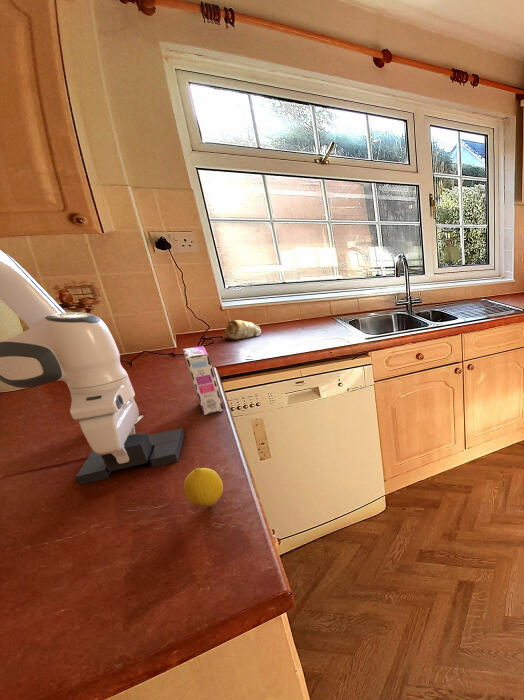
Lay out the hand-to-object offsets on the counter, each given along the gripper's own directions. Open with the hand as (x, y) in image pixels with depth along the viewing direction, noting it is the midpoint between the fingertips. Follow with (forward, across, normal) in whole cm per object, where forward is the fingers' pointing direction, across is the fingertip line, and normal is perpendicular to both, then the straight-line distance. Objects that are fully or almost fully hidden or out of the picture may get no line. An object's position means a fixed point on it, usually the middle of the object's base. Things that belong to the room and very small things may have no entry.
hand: (128, 452), depth 90 cm
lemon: (+3, +26, +15) cm, 30 cm away
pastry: (+3, -110, +21) cm, 112 cm away
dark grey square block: (+2, 0, 0) cm, 2 cm away
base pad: (+3, -3, 0) cm, 5 cm away
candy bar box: (+3, -26, +13) cm, 30 cm away
